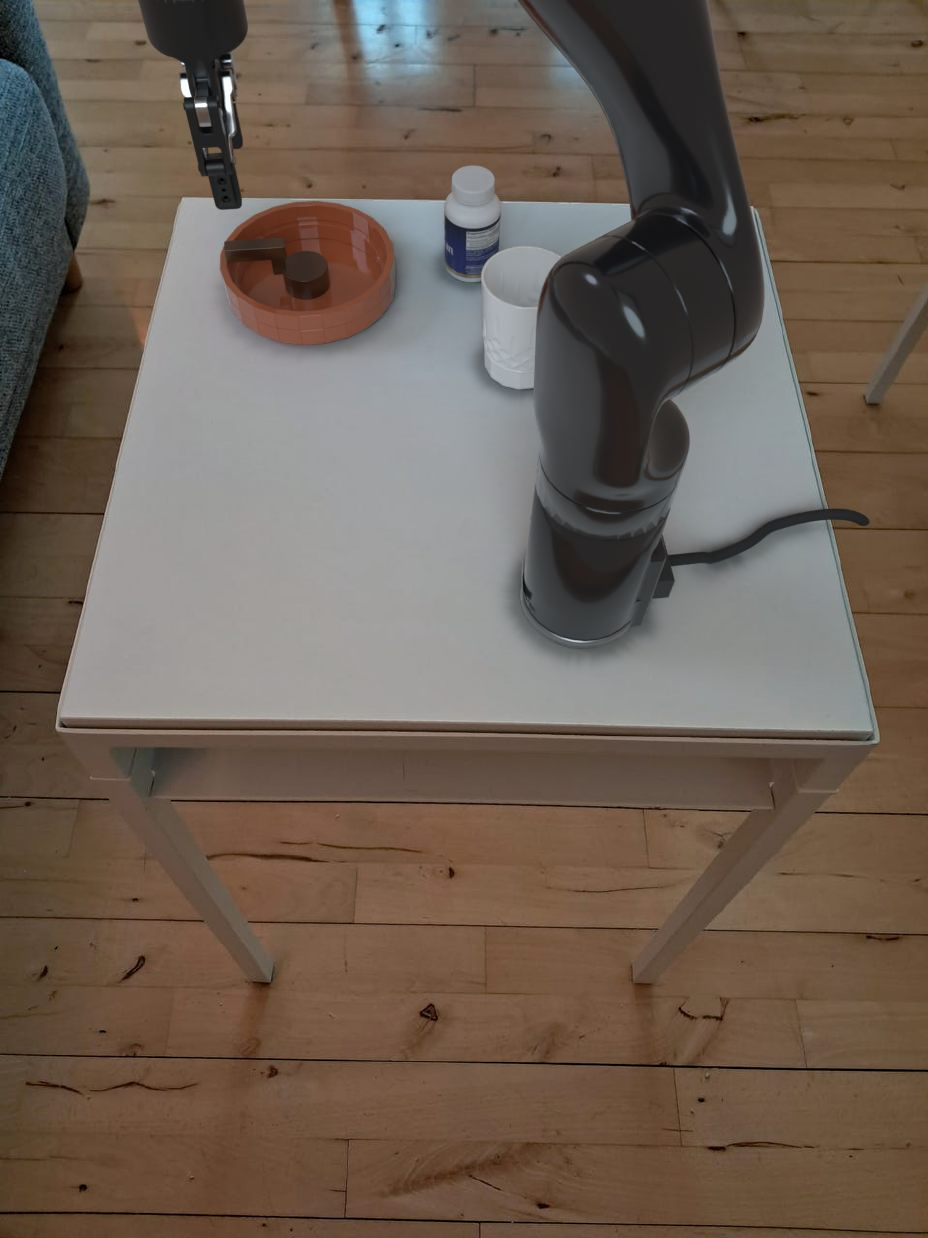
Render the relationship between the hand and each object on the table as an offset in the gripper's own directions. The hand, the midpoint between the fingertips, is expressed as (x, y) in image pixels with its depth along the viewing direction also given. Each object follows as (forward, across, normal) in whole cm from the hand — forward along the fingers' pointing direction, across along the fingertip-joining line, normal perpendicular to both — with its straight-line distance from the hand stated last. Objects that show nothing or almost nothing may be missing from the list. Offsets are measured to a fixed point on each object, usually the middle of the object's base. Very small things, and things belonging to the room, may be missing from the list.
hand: (230, 175), depth 81 cm
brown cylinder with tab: (+12, 0, -3) cm, 12 cm away
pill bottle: (+13, +2, -21) cm, 25 cm away
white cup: (+13, -12, -24) cm, 30 cm away
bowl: (+13, 0, -5) cm, 14 cm away
